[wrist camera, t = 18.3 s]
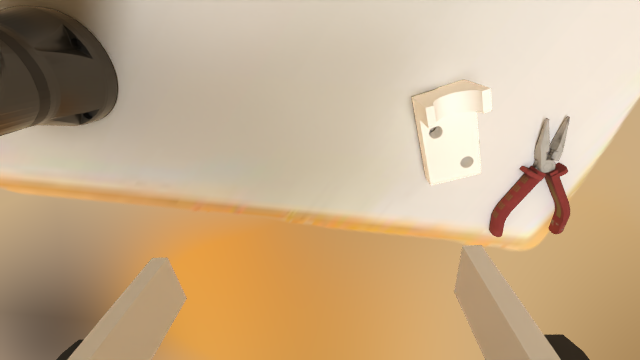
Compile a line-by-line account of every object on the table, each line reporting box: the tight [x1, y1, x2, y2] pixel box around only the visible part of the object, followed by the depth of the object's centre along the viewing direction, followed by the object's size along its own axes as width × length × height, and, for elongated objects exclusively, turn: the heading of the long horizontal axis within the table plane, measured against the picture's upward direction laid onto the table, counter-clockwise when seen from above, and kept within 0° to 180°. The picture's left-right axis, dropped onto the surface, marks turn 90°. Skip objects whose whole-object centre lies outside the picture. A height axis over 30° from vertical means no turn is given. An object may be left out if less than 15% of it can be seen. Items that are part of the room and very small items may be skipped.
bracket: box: [412, 80, 492, 185], centre depth 37 cm, size 13×7×8 cm, turn 18°
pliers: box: [490, 116, 570, 237], centre depth 42 cm, size 12×20×3 cm, turn 6°
